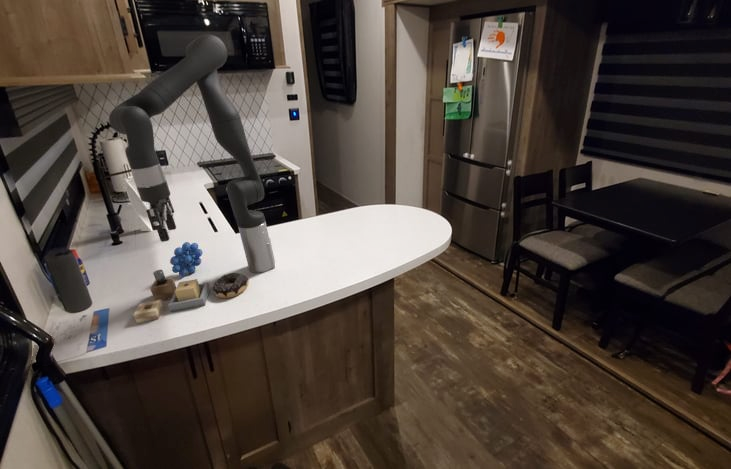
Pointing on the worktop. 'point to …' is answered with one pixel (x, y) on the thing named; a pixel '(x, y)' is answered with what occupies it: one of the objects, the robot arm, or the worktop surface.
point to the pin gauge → (159, 277)
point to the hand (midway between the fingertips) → (169, 234)
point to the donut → (230, 285)
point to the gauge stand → (148, 311)
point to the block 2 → (188, 290)
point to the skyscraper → (138, 204)
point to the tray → (191, 303)
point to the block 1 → (163, 289)
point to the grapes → (186, 258)
